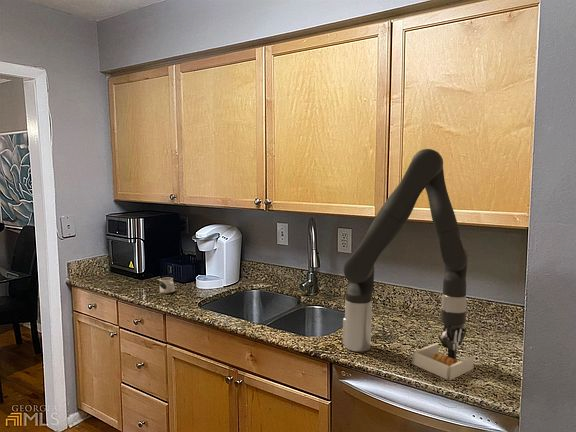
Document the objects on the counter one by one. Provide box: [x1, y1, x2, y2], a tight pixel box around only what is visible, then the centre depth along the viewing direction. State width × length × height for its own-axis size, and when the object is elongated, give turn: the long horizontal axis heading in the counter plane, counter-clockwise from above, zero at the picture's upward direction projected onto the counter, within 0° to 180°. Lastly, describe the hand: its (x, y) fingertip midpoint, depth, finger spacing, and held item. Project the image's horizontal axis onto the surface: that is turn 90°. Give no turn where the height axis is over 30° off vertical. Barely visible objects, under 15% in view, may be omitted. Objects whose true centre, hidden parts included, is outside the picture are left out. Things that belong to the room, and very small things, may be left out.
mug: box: [158, 276, 176, 294], centre depth 221 cm, size 10×7×7 cm
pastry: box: [431, 353, 459, 366], centre depth 138 cm, size 9×7×4 cm
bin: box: [411, 342, 475, 381], centre depth 139 cm, size 14×13×4 cm
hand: (451, 359), depth 142 cm, fingers closed
